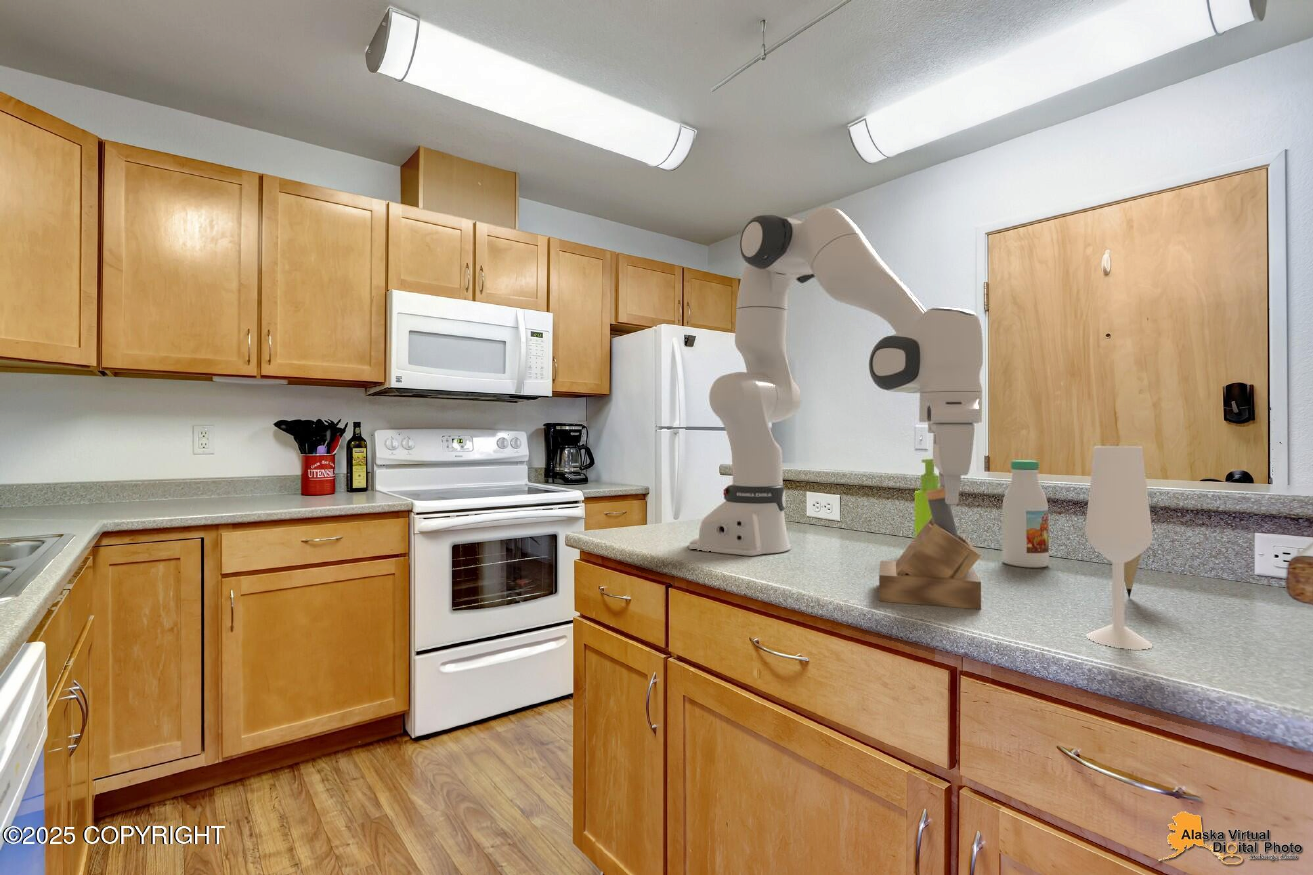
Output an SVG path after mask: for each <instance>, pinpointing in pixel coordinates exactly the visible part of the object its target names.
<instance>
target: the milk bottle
mask: <svg viewBox="0 0 1313 875" xmlns="http://www.w3.org/2000/svg"><path fill="white" fill-rule="evenodd" d="M1010 468H1011V470H1010V471H1011V473H1012V477H1011V480H1010V484H1009V485H1008V488H1007V490H1006V491H1005V494H1004V496H1003V500H1002V513H1001V517H1002V518H1001V521H1002V523H1001V532H1002V533H1001V542H1002V543H1001V547H1002V554H1001V556H1002V562H1003V563H1004V564H1006V565H1009V566H1015V567H1019V568H1020V567H1021V568H1022V567H1023V568H1031V569H1032V568H1045V567H1048V565H1049V563H1050V543H1049V542H1050V540H1049V539H1050V537H1049V536H1050V534H1049V532H1050V528H1049V521H1050V520H1049V519H1050V518H1049V505H1048V504H1049V503H1048V500H1047V496H1046V494H1045V492H1044V490H1043V488H1042V486H1041V483H1040V481H1039V478H1038V473H1039V468H1040V462H1039V461H1038V460H1028V459H1026V460H1024V459H1021V460H1020V459H1019V460H1016V459H1015V460H1011V462H1010Z"/></svg>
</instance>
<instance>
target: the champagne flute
mask: <svg viewBox="0 0 1313 875" xmlns="http://www.w3.org/2000/svg"><path fill="white" fill-rule="evenodd" d="M1093 448H1094V449H1093V458H1092V465H1091V466H1092V468H1091V476H1090V484H1089V495H1088V502H1087V512H1086V522H1085V530H1084V534H1085V537H1086V539H1087V540H1088V542H1089V543H1090V545H1091V546H1092V547H1093V548H1094V549H1095V550H1096V551H1097V552H1098V553H1099V554H1101V555H1102V556H1103V557H1104V558H1105V559H1106V560H1109V561H1110V562H1111V563H1112V567H1111V568H1112V571H1111V572H1112V575H1111V576H1112V578H1111V579H1112V580H1111V582H1112V583H1111V584H1112V586H1111V587H1112V592H1111V593H1112V596H1111V598H1112V600H1111V602H1112V603H1111V604H1112V607H1111V608H1112V623H1111V624H1109V625H1107V626H1103V627H1101V628H1099V629H1096V630H1093V631H1090V632H1088V633H1086V634H1085V638H1086V639H1088V640H1089V639H1090V640H1089V641H1091V642H1093V641H1094V642H1093V643H1096V644H1098V643H1099V645H1102V646H1105V645H1107V646H1106V647H1109V646H1111V647H1110V648H1114V647H1115V649H1120V648H1124V649H1123V650H1128V649H1129V650H1130V649H1131V650H1132V651H1143V650H1142V649H1146V650H1149V649H1148V648H1150V649H1152V648H1153V647H1152V646H1153V644H1152V643H1151V642H1150V641H1148V640H1147V639H1145V638H1144V637H1142V636H1141V635H1139V634H1137V633H1136V632H1135V631H1133V630H1131V629H1130V628H1128V627H1126V626H1125V581H1124V563H1125V562H1128V561H1130V560H1132V559H1133V558H1135V557H1136V556H1138V555H1139V554H1141V555H1142V553H1143V552H1145V551H1146V550H1147V549H1148V547H1149V546H1150V545H1151V543H1152V542H1153V538H1154V537H1153V536H1154V535H1153V525H1152V518H1151V510H1150V503H1149V502H1150V501H1149V494H1148V486H1147V478H1146V477H1147V476H1146V469H1145V461H1144V451H1143V446H1135V445H1133V446H1132V445H1130V446H1129V445H1128V446H1127V445H1126V446H1123V445H1117V446H1114V445H1112V446H1111V445H1106V446H1105V445H1104V446H1101V445H1100V446H1099V445H1098V446H1097V445H1096V446H1094V447H1093ZM1151 525H1152V526H1151ZM1131 650H1130V651H1131Z"/></svg>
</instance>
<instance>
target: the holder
mask: <svg viewBox="0 0 1313 875" xmlns="http://www.w3.org/2000/svg"><path fill="white" fill-rule="evenodd" d="M958 537H959V540H958V539H957V538H955V537H954V536H952V535H951V534H949V533H948V532H946V531H945V530H944V529H942V528H941V527H939V526H938V525H936V524H934V523H933V519H932V517H931V518H930V519H929V520H928V522H927V523H926V524H925V526H924V527H923V528H922V529H921V531H920V532H919V533H918V535H917V536H916V537H915V536H914V538H913V539H912V541H911V542H910V543H909V545H908V546H907V548H906V549H905V550H904V551H903V552H902V554H901V555H900V556H899V558H898V559H897V560H895V561H889V560H880V561H879V570H878V571H879V572H878V574H879V575H878V586H879V587H878V588H879V589H878V592H879V593H878V598H879V600H878V601H879V602H887V603H888V602H889V603H900V604H910V605H911V604H912V605H913V604H914V605H925V606H938V607H949V608H962V609H963V608H964V609H973V610H975V609H976V610H981V609H982V582H981V579H980V577H979V576H978V574H977V573H976V571H975V569H974V567H973V566H974V565H975V564H976V563H977V561H979V559H980V558H981V556H982V555H981V553H979V552H978V551H977V549H975V544H973V543H972V542H970V541H969V540H967V539H966V538H964V537H963V536H961V535H960V534H958Z"/></svg>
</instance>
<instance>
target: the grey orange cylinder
mask: <svg viewBox="0 0 1313 875" xmlns="http://www.w3.org/2000/svg"><path fill="white" fill-rule="evenodd" d="M925 493H926V497H927V500H928V503H929V507H930V511H931V515H932V519H933V523H934V524H936V525H938V526H939V527H941V528H942V529H944V530H945V531H946V532H948V533H949V534H951V535H952V536H954V537H955V538H957V539H958V540H959V537H958V535H959V534H958V530H957V526H956V522H955V518H954V514H953V511H952V506H951V504H947V503H946V502H945V488H941V489H940V488H939V489H934V490H930V491H927V492H925Z"/></svg>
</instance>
